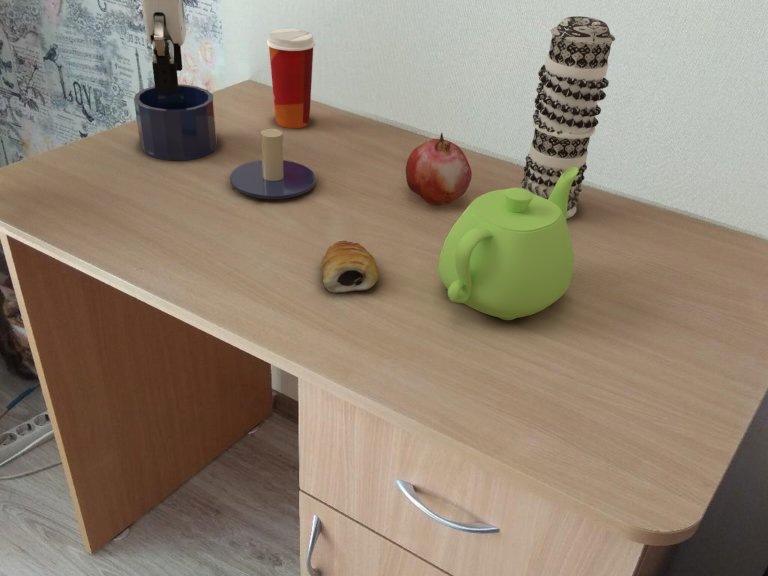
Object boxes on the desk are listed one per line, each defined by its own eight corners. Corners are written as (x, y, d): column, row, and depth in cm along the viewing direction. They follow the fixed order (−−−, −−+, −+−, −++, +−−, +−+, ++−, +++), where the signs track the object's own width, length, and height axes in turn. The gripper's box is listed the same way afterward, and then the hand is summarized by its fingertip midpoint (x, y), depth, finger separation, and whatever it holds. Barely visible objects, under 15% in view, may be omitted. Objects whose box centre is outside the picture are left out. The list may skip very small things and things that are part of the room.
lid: (230, 203, 107) (226, 150, 102) (230, 166, 116) (227, 116, 111) (318, 202, 109) (318, 150, 104) (312, 166, 118) (312, 116, 113)
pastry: (318, 254, 98) (319, 227, 95) (372, 254, 99) (373, 227, 96) (323, 295, 91) (323, 266, 88) (380, 294, 92) (382, 266, 89)
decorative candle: (510, 213, 110) (543, 25, 94) (521, 187, 117) (553, 8, 101) (574, 226, 108) (619, 36, 92) (581, 199, 115) (624, 18, 99)
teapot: (510, 238, 104) (527, 143, 96) (607, 283, 97) (635, 184, 88) (399, 297, 91) (408, 193, 83) (501, 354, 84) (522, 246, 75)
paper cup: (296, 110, 136) (295, 25, 127) (324, 124, 131) (325, 37, 123) (259, 119, 131) (255, 31, 122) (287, 134, 127) (285, 44, 118)
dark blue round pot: (138, 160, 116) (130, 110, 111) (145, 131, 125) (138, 83, 120) (216, 160, 118) (211, 111, 113) (217, 131, 126) (213, 84, 121)
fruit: (417, 179, 117) (423, 113, 111) (476, 194, 114) (485, 127, 108) (391, 202, 110) (396, 133, 104) (453, 218, 108) (462, 149, 101)
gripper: (181, -36, 98) (193, 101, 109) (188, -62, 111) (198, 63, 122) (119, -39, 97) (137, 100, 107) (133, -65, 110) (148, 61, 121)
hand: (169, 80), depth 115 cm, fingers open, 9 cm apart
